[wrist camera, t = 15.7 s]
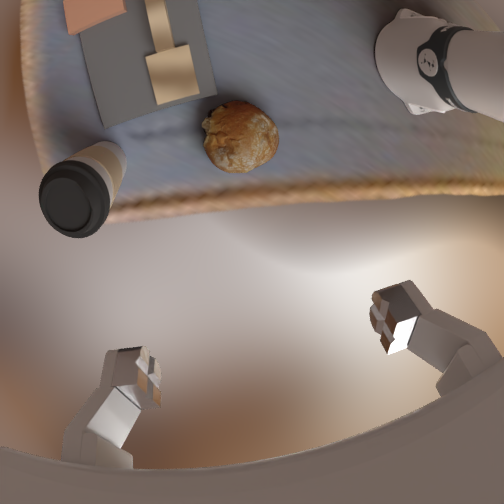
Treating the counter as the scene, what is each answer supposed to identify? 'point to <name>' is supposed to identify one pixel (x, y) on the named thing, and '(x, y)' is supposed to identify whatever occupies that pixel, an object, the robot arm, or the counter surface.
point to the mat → (140, 59)
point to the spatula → (168, 59)
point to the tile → (90, 13)
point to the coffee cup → (82, 189)
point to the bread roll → (239, 137)
